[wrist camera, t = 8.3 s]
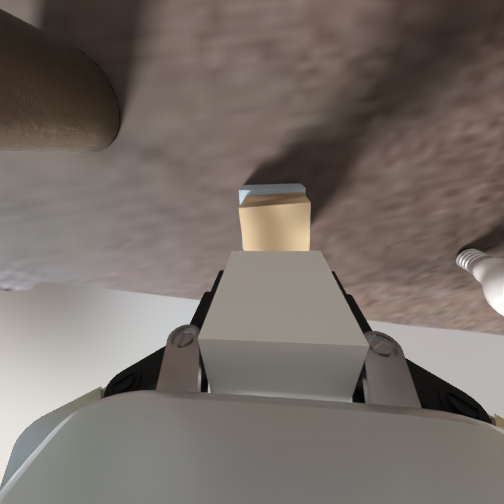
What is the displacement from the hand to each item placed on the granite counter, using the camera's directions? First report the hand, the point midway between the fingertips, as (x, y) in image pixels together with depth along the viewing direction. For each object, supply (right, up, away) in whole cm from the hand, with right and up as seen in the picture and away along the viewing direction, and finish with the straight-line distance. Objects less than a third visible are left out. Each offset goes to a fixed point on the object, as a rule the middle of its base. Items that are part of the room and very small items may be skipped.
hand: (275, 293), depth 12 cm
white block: (0, 0, +1) cm, 1 cm away
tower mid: (+1, +6, +10) cm, 12 cm away
